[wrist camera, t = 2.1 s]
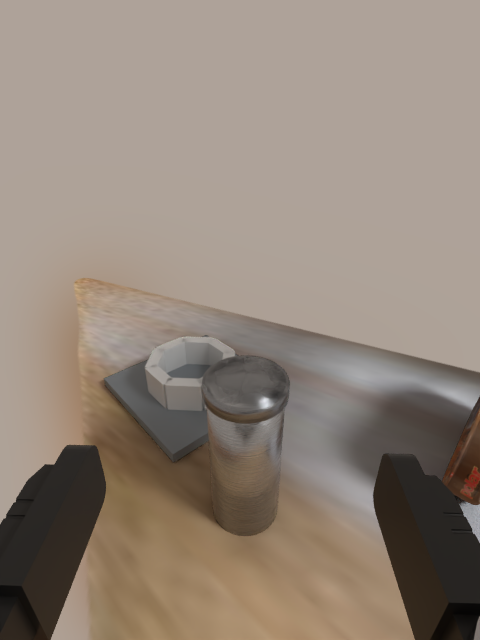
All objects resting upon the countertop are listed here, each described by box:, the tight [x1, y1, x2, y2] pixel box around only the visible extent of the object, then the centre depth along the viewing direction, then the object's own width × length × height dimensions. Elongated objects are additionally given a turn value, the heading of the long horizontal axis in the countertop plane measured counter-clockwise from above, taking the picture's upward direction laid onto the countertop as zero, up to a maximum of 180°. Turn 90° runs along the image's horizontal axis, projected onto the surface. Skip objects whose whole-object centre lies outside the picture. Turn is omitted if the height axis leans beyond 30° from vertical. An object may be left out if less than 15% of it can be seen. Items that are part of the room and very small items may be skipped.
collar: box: [104, 335, 238, 462], centre depth 40 cm, size 14×14×4 cm
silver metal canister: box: [202, 356, 290, 536], centre depth 26 cm, size 5×5×12 cm
